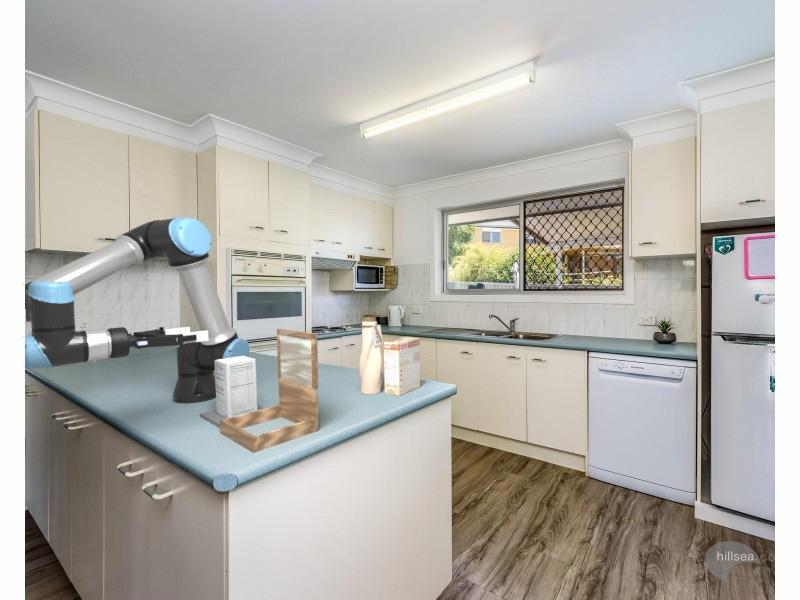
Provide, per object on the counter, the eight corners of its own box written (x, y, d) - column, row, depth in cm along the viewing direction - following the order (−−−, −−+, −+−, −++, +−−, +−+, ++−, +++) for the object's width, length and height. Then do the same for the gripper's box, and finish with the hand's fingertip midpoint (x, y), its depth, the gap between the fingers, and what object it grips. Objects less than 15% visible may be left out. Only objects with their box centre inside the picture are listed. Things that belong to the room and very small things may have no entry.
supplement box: (245, 406, 128) (244, 355, 127) (258, 412, 121) (257, 358, 121) (215, 413, 121) (213, 359, 120) (227, 420, 114) (225, 363, 114)
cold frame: (253, 452, 94) (250, 341, 93) (220, 432, 107) (217, 335, 106) (319, 430, 108) (317, 333, 107) (282, 415, 121) (280, 329, 120)
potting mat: (221, 429, 110) (221, 425, 110) (199, 416, 121) (199, 413, 121) (273, 414, 122) (273, 411, 121) (249, 404, 132) (249, 401, 132)
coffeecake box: (405, 384, 156) (405, 336, 156) (421, 387, 152) (420, 337, 152) (383, 393, 144) (382, 341, 143) (399, 396, 140) (398, 342, 139)
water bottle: (390, 390, 147) (389, 317, 146) (376, 396, 140) (375, 319, 139) (368, 387, 153) (367, 316, 152) (354, 392, 145) (352, 318, 144)
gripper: (98, 352, 105) (183, 341, 120) (121, 365, 88) (216, 351, 104) (96, 325, 104) (182, 317, 120) (119, 332, 88) (215, 323, 103)
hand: (198, 333), depth 112 cm, fingers open, 13 cm apart
